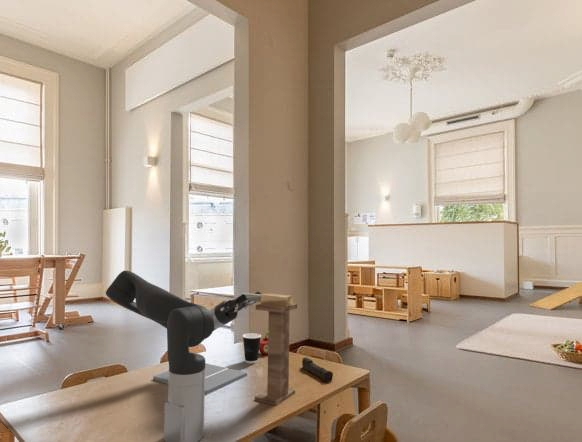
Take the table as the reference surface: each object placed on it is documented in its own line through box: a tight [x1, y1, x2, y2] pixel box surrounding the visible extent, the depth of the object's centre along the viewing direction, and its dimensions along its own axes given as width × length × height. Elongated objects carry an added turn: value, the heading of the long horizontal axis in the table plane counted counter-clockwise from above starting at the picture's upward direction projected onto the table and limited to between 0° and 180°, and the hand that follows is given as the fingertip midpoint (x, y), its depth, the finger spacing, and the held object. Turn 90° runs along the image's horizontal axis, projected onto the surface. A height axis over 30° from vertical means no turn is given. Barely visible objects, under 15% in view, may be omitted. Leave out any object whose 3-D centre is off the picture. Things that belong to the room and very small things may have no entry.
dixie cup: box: [242, 332, 262, 364], centre depth 167 cm, size 8×8×11 cm
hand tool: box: [301, 357, 334, 383], centre depth 152 cm, size 19×4×5 cm, turn 26°
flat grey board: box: [152, 362, 248, 396], centre depth 147 cm, size 22×26×1 cm
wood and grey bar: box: [240, 292, 294, 307], centre depth 134 cm, size 4×19×3 cm, turn 59°
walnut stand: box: [254, 302, 298, 406], centre depth 130 cm, size 12×10×30 cm
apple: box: [259, 330, 268, 355], centre depth 179 cm, size 8×7×10 cm
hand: (253, 295), depth 136 cm, fingers open, 8 cm apart
